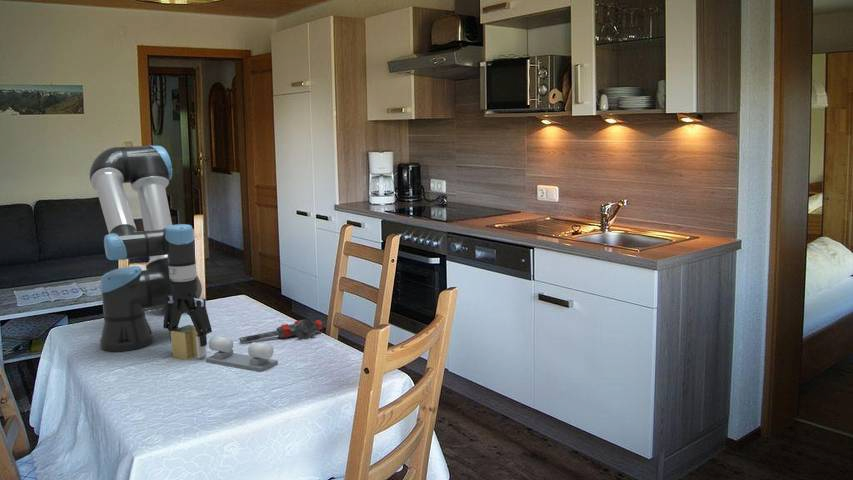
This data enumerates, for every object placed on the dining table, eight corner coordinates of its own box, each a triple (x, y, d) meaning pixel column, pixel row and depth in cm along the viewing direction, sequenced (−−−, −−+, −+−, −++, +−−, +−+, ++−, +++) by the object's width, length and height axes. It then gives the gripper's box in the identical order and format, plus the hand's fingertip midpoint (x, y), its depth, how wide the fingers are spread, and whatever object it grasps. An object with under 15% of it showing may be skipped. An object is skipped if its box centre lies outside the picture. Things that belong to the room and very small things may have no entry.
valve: (317, 331, 243) (328, 336, 229) (237, 345, 234) (243, 352, 220) (314, 311, 243) (325, 316, 229) (234, 325, 234) (240, 331, 220)
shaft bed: (206, 361, 208) (204, 339, 207) (223, 354, 214) (222, 333, 213) (261, 371, 199) (259, 348, 197) (277, 363, 205) (276, 341, 204)
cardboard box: (187, 360, 210) (184, 333, 209) (173, 357, 213) (170, 330, 211) (205, 353, 216) (203, 326, 215) (191, 350, 219) (189, 324, 217)
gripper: (145, 278, 212) (152, 353, 216) (202, 284, 202) (208, 363, 206) (165, 273, 219) (172, 346, 223) (221, 279, 209) (227, 355, 212)
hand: (189, 354), depth 214 cm, fingers open, 9 cm apart
